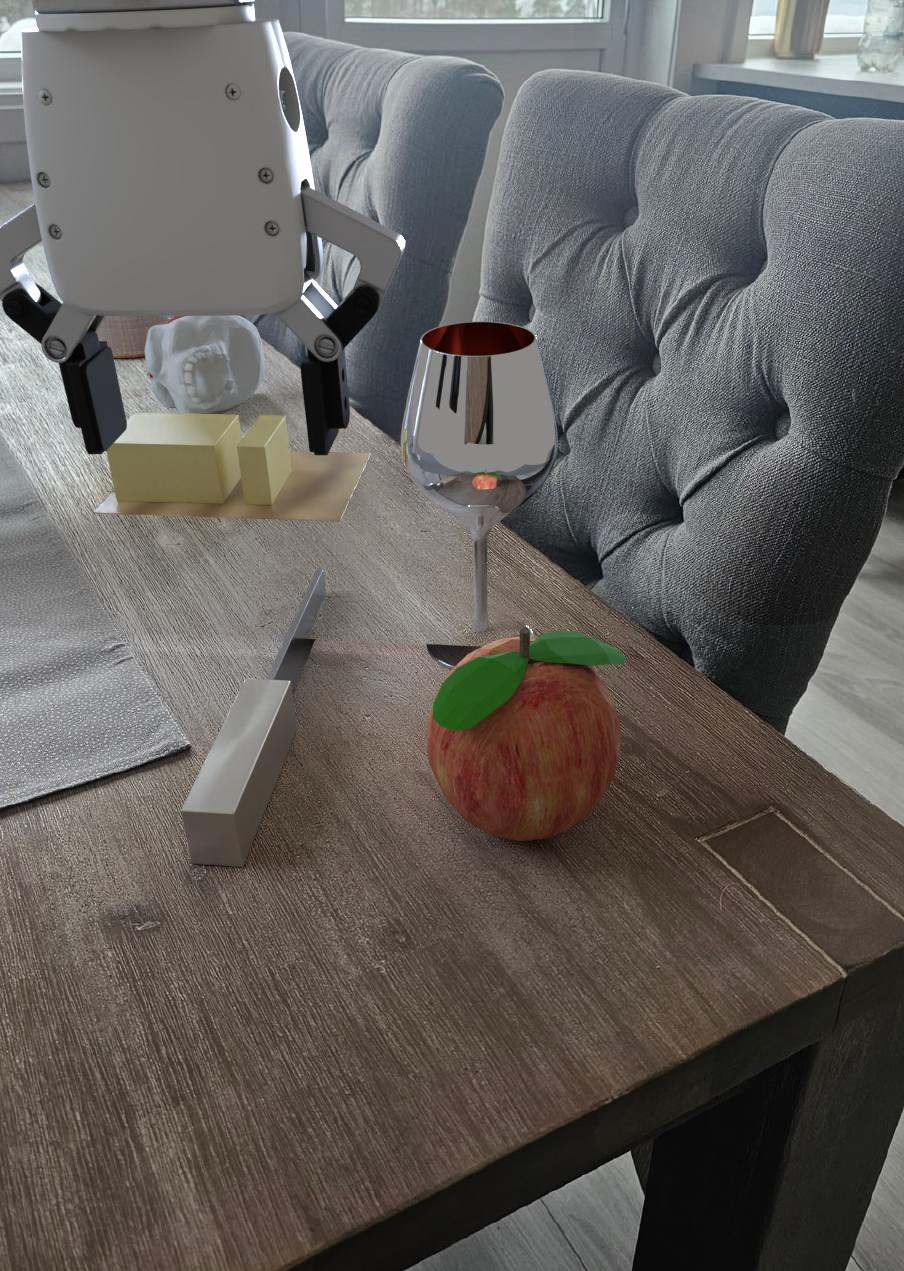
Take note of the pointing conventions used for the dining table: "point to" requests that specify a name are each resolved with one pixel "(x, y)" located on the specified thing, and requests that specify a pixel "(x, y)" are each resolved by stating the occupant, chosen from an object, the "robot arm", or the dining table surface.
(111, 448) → the butter block
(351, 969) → the dining table surface
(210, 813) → the knife
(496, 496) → the wineglass
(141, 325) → the planter
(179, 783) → the dining table surface
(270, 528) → the dining table surface
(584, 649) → the fruit
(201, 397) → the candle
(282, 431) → the butter slice
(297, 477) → the board
